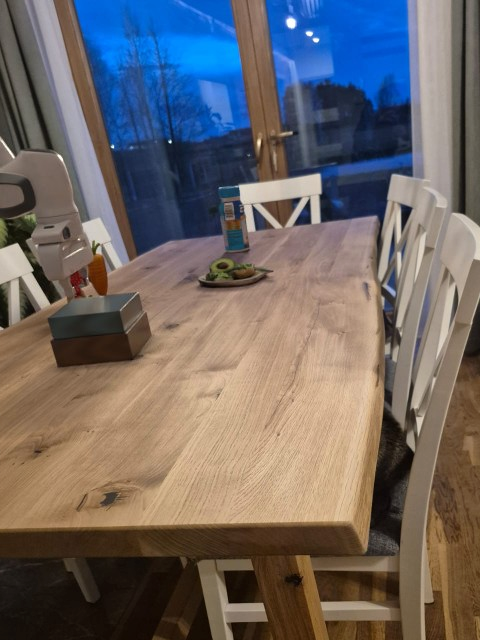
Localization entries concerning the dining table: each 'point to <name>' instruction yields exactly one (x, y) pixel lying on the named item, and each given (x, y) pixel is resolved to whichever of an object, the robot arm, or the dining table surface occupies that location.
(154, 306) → the dining table surface
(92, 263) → the carrot
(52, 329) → the block stack
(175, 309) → the dining table surface
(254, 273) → the salad plate
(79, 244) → the robot arm
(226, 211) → the blue canister
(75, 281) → the bird rattle
